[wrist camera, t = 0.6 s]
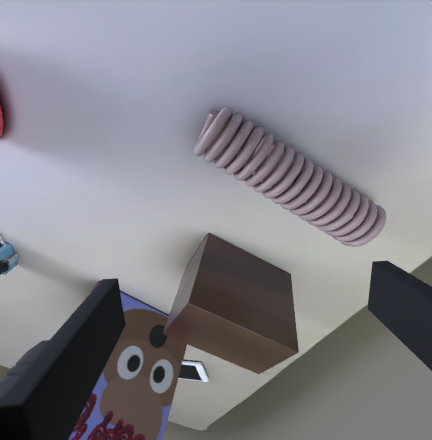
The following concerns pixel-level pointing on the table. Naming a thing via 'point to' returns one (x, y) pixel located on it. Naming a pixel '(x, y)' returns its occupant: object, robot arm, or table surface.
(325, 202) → the coil
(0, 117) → the stress ball
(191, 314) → the walnut block
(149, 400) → the cereal box
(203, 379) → the cell phone
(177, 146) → the table surface
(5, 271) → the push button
